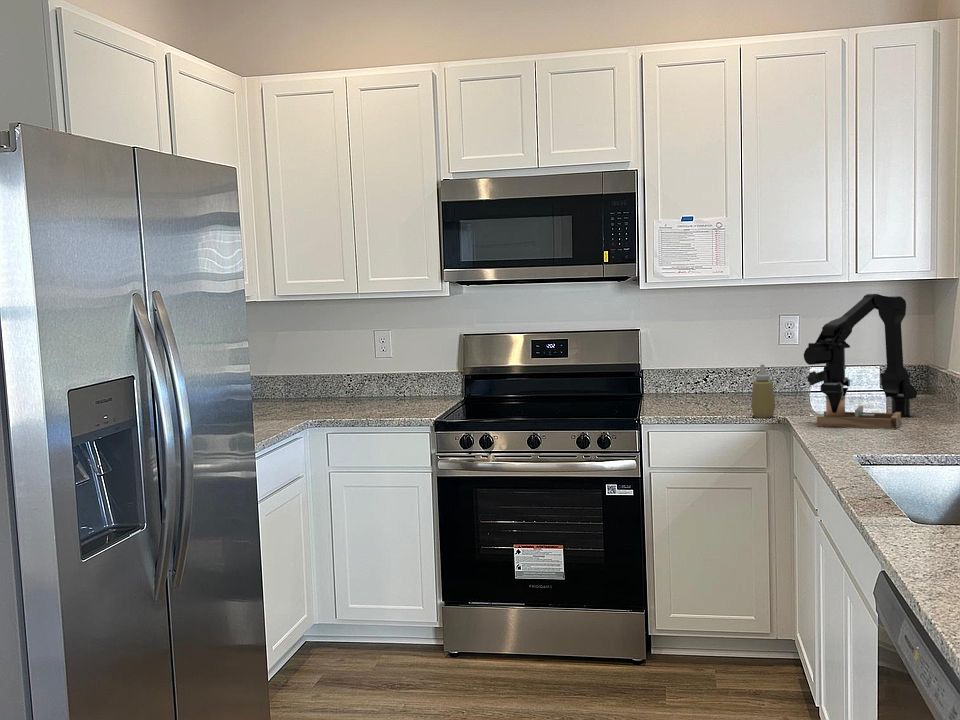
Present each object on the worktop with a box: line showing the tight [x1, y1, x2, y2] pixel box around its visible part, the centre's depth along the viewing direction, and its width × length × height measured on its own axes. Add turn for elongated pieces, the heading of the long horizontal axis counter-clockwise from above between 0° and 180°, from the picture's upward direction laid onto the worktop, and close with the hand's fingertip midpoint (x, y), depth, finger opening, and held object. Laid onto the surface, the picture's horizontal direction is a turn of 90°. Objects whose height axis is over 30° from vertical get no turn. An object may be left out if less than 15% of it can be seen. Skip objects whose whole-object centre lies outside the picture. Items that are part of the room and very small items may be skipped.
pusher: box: [854, 405, 875, 418], centre depth 296 cm, size 10×5×4 cm, turn 150°
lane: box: [816, 410, 902, 430], centre depth 297 cm, size 14×23×4 cm, turn 60°
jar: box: [825, 395, 846, 416], centre depth 300 cm, size 6×6×6 cm
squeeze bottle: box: [750, 364, 776, 419], centre depth 321 cm, size 8×8×18 cm
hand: (835, 411), depth 300 cm, fingers closed on jar, 6 cm apart
